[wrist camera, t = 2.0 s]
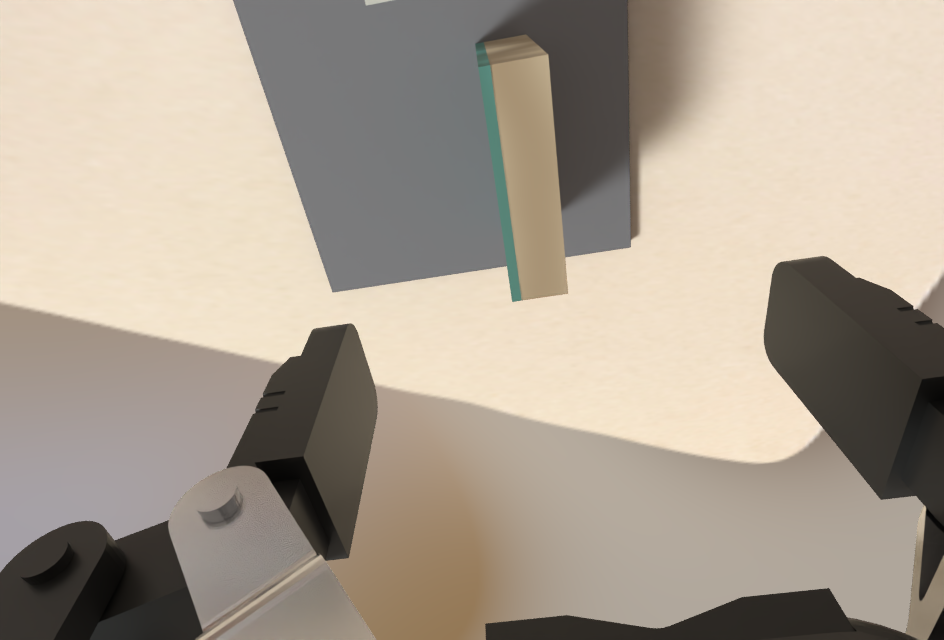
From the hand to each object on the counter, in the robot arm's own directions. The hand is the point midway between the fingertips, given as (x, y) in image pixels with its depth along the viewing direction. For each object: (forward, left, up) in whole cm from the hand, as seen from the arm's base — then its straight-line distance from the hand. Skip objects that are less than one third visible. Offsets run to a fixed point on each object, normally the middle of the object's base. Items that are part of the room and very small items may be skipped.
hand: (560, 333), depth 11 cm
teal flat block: (0, 0, -16) cm, 16 cm away
